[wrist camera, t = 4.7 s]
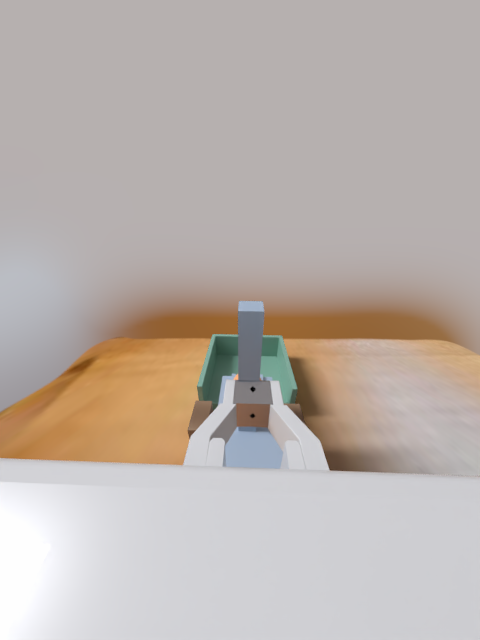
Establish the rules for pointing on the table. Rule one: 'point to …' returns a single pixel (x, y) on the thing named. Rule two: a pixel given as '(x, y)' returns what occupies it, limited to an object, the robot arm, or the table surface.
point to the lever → (250, 442)
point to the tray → (225, 363)
